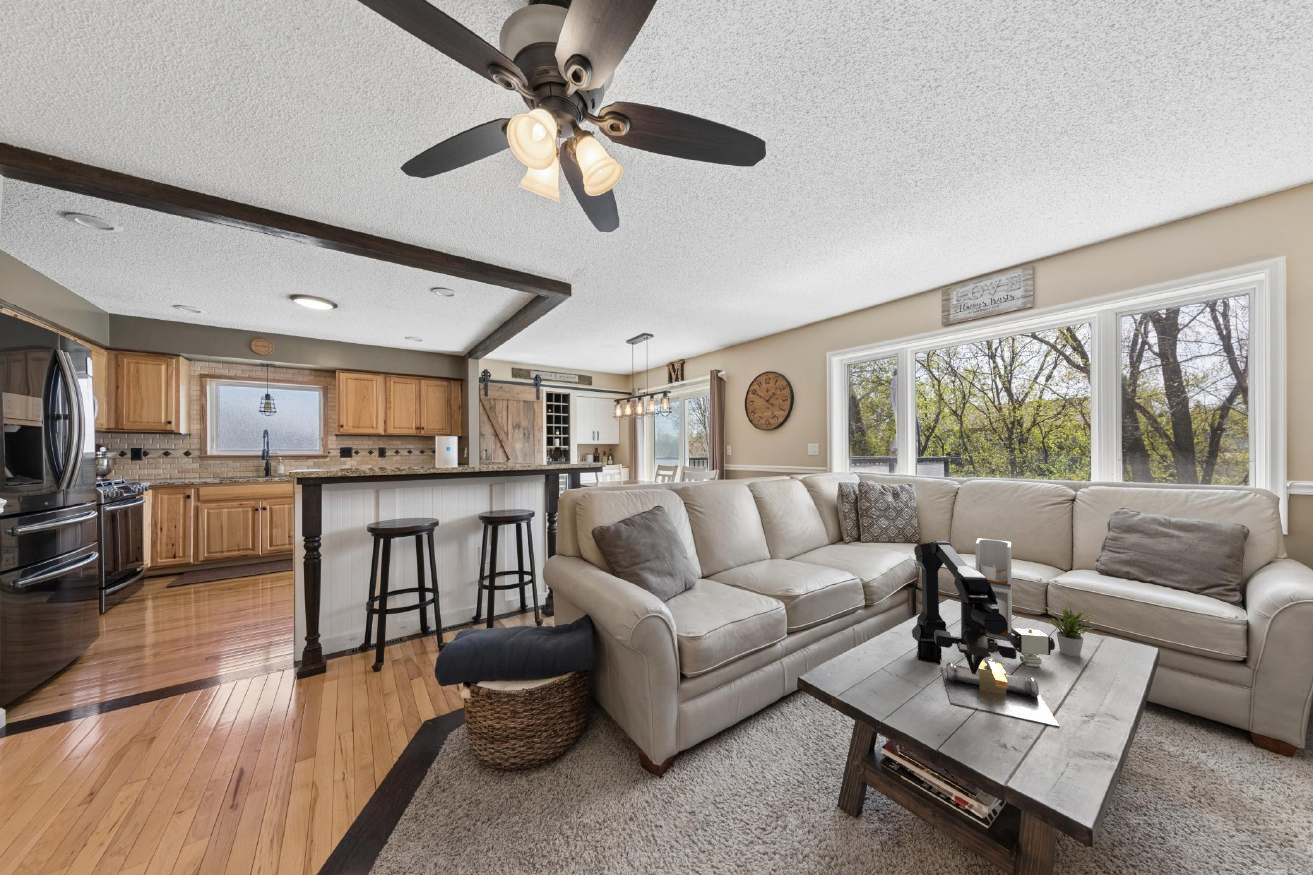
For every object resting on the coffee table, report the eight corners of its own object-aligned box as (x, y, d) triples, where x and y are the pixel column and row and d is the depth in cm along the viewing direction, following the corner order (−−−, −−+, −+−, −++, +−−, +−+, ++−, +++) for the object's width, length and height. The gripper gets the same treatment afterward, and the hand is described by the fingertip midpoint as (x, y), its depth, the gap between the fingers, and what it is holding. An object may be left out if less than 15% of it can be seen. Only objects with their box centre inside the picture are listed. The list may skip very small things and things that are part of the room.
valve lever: (983, 661, 138) (983, 655, 138) (994, 663, 137) (994, 657, 137) (995, 685, 124) (995, 679, 124) (1007, 688, 123) (1007, 681, 123)
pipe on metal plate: (950, 704, 128) (950, 678, 128) (940, 668, 148) (940, 646, 148) (1059, 727, 117) (1059, 700, 117) (1033, 685, 137) (1033, 662, 137)
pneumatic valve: (1055, 670, 146) (1055, 633, 146) (1014, 666, 149) (1014, 630, 149) (1044, 661, 152) (1044, 626, 152) (1005, 658, 154) (1005, 623, 154)
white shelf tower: (978, 624, 182) (977, 538, 183) (1011, 631, 176) (1011, 541, 176) (976, 633, 174) (975, 543, 174) (1011, 641, 167) (1010, 547, 167)
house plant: (1115, 665, 149) (1115, 616, 149) (1073, 664, 149) (1072, 615, 149) (1076, 645, 163) (1075, 600, 163) (1037, 645, 164) (1037, 600, 164)
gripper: (938, 623, 125) (938, 679, 125) (1022, 636, 117) (1022, 696, 117) (933, 609, 135) (934, 661, 135) (1010, 620, 127) (1011, 675, 127)
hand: (973, 673), depth 129 cm, fingers closed
